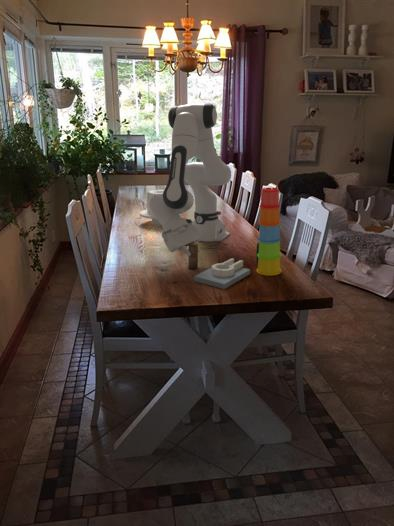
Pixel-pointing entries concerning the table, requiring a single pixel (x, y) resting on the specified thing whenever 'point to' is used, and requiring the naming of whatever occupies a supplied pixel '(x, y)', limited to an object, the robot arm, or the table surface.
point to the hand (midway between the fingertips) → (194, 253)
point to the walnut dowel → (193, 255)
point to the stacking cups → (269, 233)
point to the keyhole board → (221, 280)
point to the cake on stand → (148, 212)
